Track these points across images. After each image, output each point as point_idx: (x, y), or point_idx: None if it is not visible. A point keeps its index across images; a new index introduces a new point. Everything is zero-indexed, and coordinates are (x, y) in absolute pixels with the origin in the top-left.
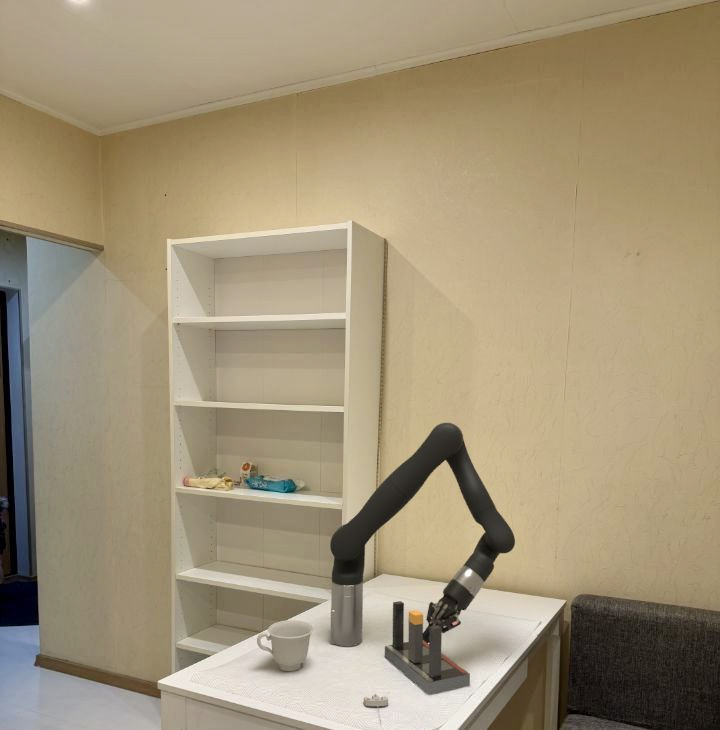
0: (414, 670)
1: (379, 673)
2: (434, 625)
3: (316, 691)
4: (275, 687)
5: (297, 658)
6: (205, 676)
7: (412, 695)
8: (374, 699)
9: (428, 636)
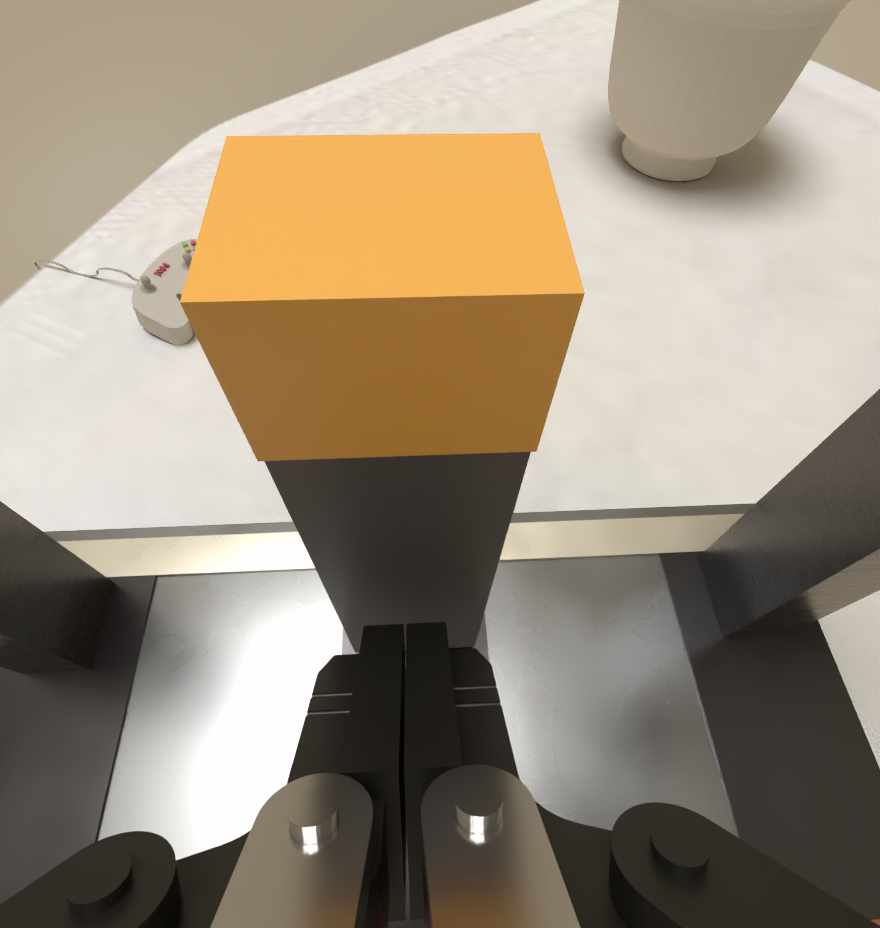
0: (267, 526)
1: None
2: (272, 826)
3: None
4: (503, 101)
5: (612, 90)
6: None
7: (154, 479)
8: (177, 268)
9: (321, 682)
